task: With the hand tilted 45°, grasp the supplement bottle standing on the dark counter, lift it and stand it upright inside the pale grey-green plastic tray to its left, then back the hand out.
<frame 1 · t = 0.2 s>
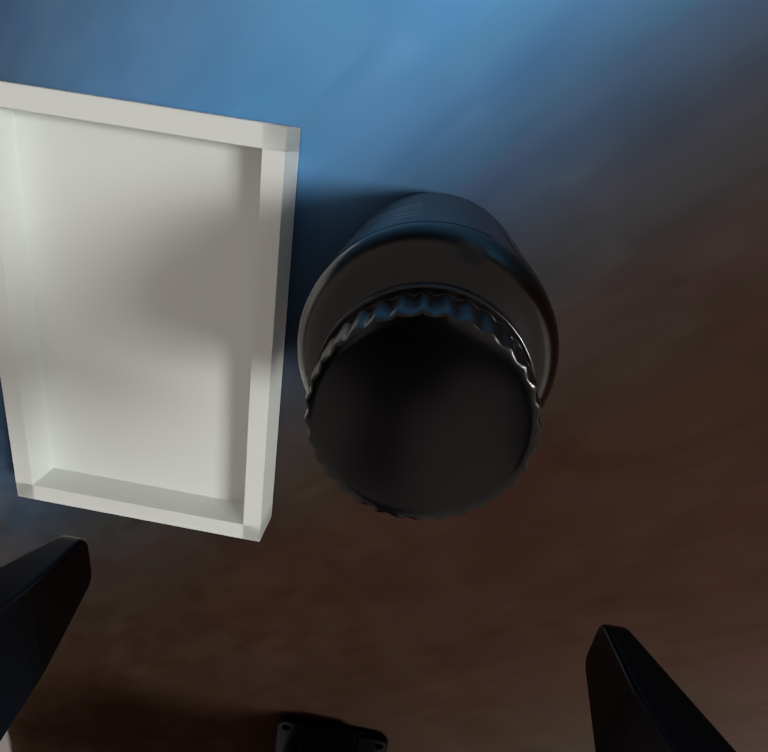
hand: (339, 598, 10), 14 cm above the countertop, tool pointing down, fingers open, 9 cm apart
supplement bottle: (432, 280, 22), on the countertop
tray: (152, 327, 24), on the countertop
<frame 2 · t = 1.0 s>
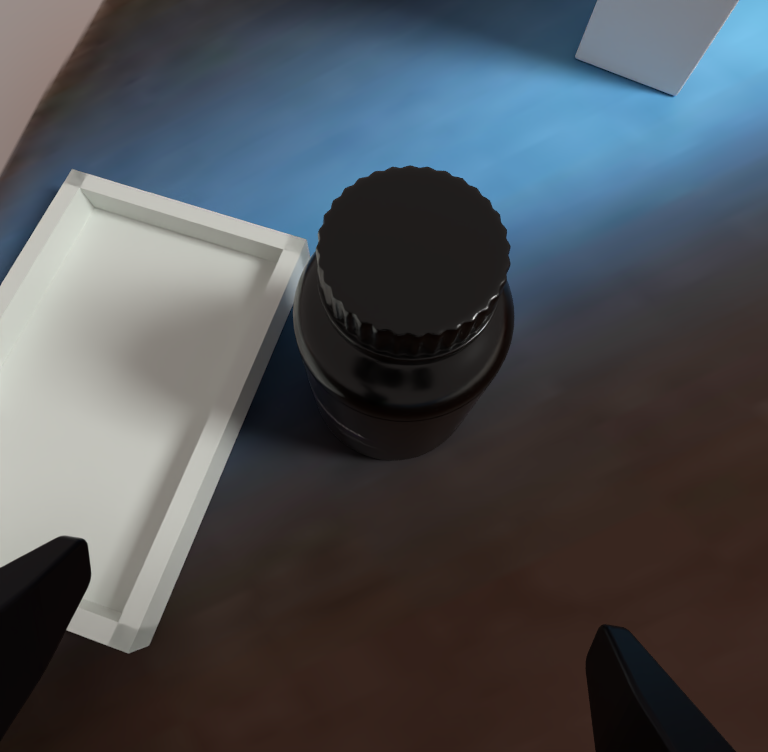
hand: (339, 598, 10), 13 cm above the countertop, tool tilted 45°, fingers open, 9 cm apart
supplement bottle: (393, 389, 25), on the countertop
tray: (116, 391, 24), on the countertop
milk: (639, 45, 32), on the countertop
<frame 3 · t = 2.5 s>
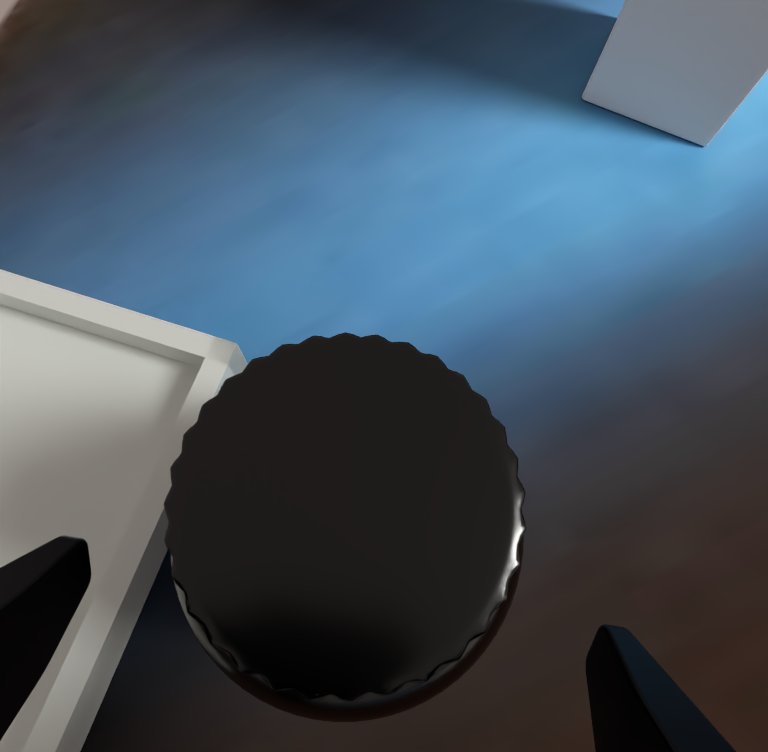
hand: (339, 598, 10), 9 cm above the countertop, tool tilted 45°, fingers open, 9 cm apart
supplement bottle: (353, 543, 19), on the countertop
milk: (658, 83, 26), on the countertop
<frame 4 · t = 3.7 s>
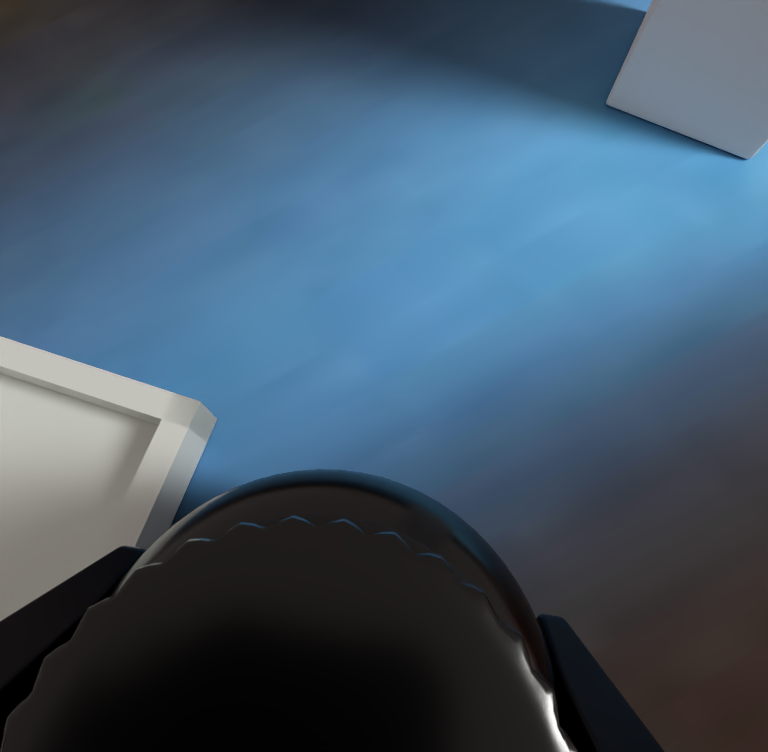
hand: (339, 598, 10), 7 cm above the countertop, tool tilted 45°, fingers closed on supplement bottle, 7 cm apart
supplement bottle: (339, 640, 16), on the countertop, touching gripper
milk: (692, 86, 23), on the countertop
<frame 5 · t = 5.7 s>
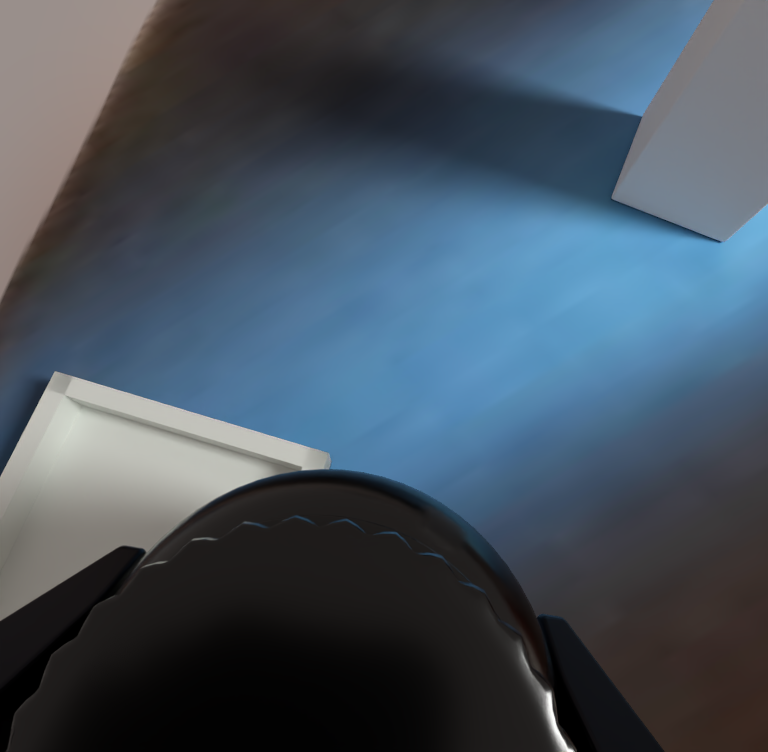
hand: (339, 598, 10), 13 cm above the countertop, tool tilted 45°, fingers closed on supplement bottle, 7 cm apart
supplement bottle: (341, 638, 16), point 6 cm above the countertop, touching gripper
tray: (114, 638, 21), on the countertop
milk: (679, 179, 29), on the countertop
when the fingers open (8 cm above the countertop, at t = 8.0 s): supplement bottle stays where it is, resting on tray.
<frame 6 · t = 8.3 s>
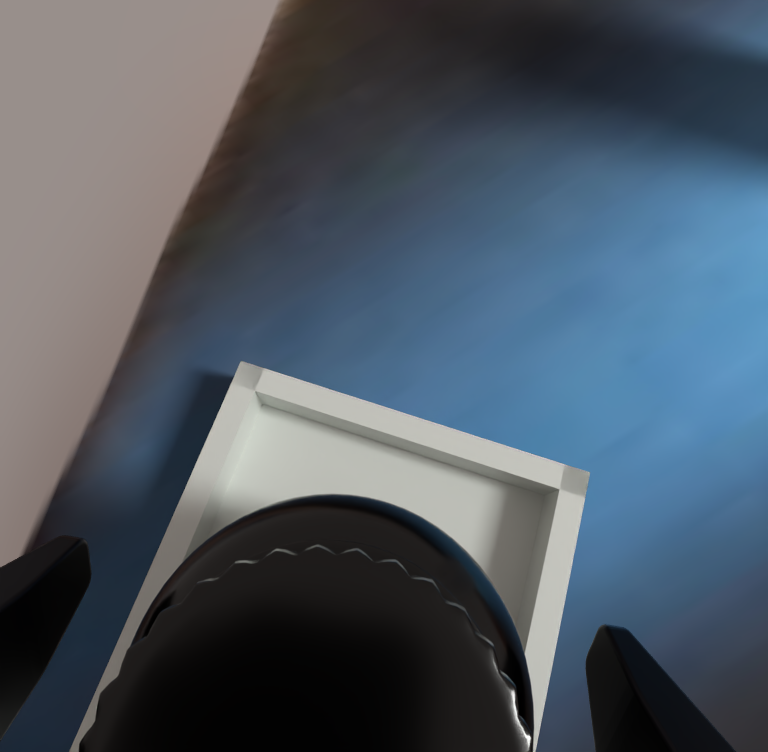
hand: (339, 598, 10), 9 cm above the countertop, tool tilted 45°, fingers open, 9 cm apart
supplement bottle: (343, 640, 17), resting on tray
tray: (320, 702, 17), on the countertop
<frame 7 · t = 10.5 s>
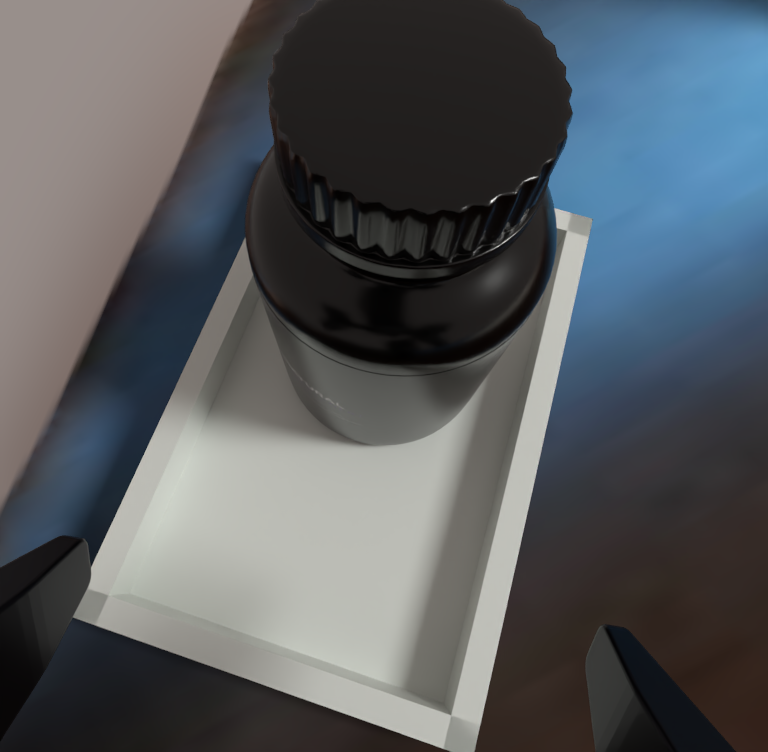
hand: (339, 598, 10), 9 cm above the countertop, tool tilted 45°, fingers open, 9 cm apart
supplement bottle: (384, 359, 20), resting on tray
tray: (366, 406, 20), on the countertop
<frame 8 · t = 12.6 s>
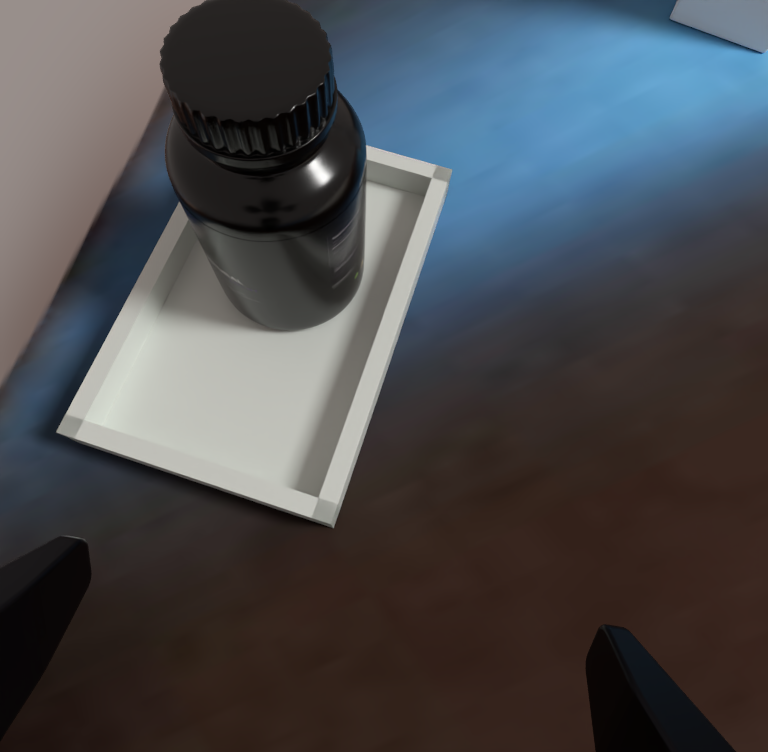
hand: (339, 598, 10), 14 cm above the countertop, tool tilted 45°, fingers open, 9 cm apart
supplement bottle: (295, 273, 27), resting on tray
tray: (279, 307, 26), on the countertop
milk: (725, 8, 34), on the countertop
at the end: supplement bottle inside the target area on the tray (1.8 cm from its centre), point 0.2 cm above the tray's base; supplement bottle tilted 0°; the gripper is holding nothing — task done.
